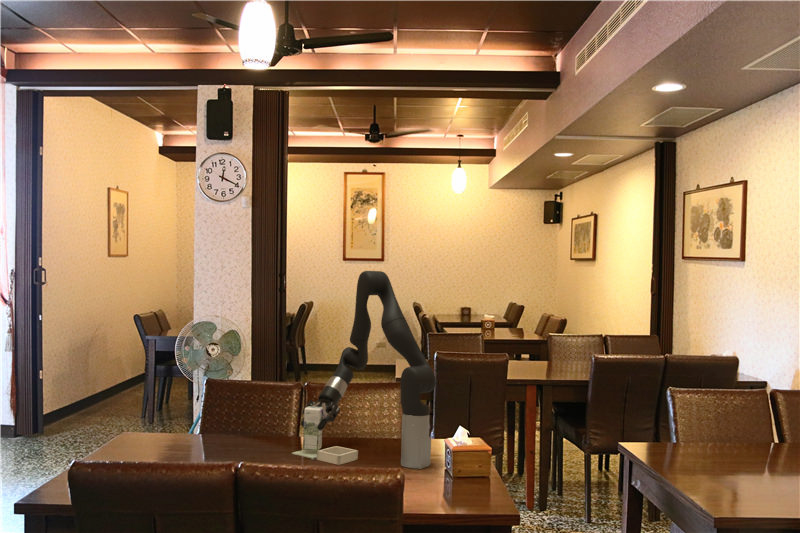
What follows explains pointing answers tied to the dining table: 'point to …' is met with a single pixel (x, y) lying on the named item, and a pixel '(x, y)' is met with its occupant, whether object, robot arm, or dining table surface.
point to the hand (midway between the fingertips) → (310, 427)
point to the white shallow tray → (330, 455)
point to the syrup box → (312, 428)
